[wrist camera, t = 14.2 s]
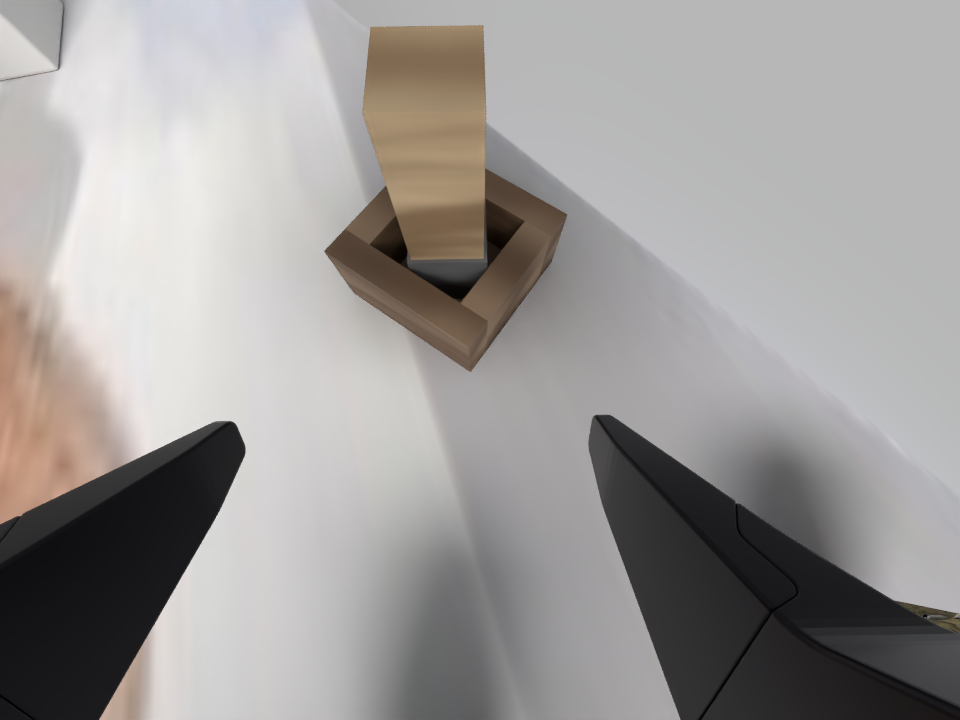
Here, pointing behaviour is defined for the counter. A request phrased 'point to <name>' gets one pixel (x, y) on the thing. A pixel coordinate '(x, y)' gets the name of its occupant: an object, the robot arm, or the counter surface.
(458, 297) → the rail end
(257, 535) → the counter surface
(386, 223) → the post slot block
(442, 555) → the counter surface
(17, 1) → the tall white carton
